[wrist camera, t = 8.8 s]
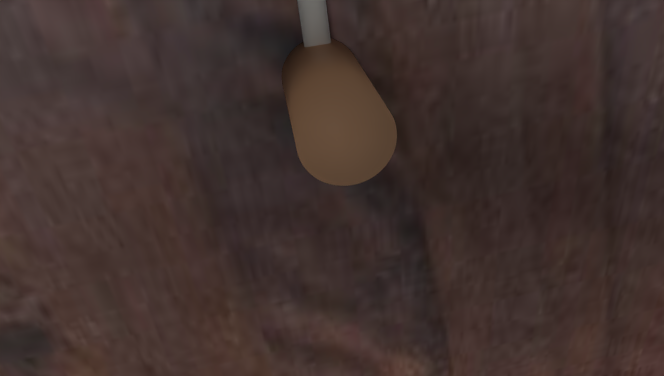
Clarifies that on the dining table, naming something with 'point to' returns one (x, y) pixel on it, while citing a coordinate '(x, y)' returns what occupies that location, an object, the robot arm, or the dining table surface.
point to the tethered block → (334, 106)
